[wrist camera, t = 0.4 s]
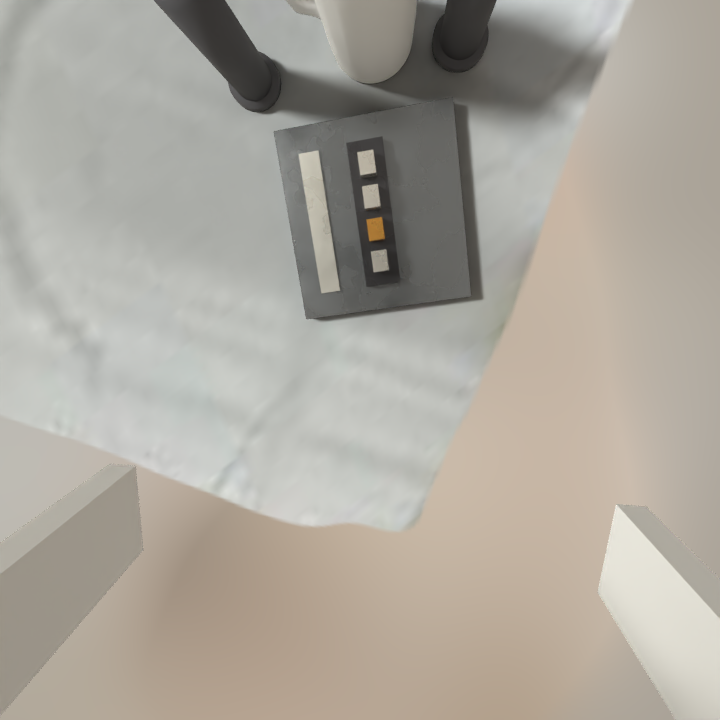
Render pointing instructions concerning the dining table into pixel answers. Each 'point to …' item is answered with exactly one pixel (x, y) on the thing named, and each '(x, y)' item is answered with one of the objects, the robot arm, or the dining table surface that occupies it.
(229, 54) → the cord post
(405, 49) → the mug
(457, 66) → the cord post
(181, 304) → the dining table surface
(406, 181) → the breaker panel
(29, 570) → the robot arm
